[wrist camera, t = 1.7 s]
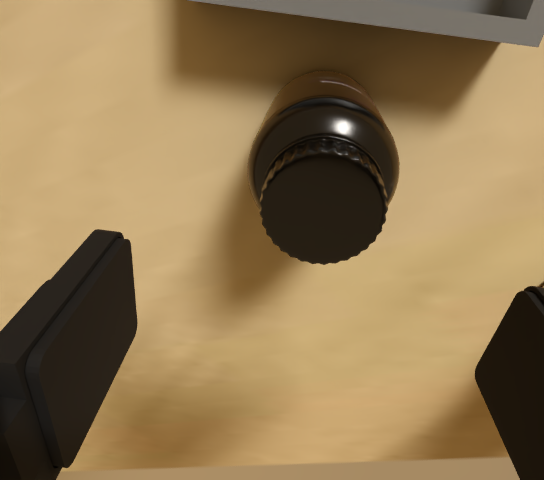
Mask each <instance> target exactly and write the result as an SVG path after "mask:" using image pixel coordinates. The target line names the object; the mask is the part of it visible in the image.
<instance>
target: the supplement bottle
mask: <svg viewBox="0 0 544 480" xmlns="http://www.w3.org/2000/svg"><path fill="white" fill-rule="evenodd" d="M398 178H399V157H398V152H397V148H396V145H395V142H394V139H393V137H392V135H391V133H390V131H389V129H388V127H387V125H386V124H385V122H384V120H383V118H382V116H381V115H380V113H379V111H378V109H377V108H376V106H375V104H374V102H373V100H372V99H371V97H370V96H369V94H368V93H367V92H366V90H365V89H364V88H363V87H362V86H361V85H360V84H359V83H357V82H356V81H355V80H353V79H351V78H350V77H348V76H346V75H343V74H340V73H337V72H332V71H316V72H311V73H307V74H304V75H302V76H299V77H297V78H296V79H294V80H292V81H291V82H290V83H288V84H287V85H286V86H285V87H284V88H283V89H282V90H281V91H280V92H279V93H278V95H277V96H276V97H275V99H274V101H273V102H272V104H271V106H270V108H269V110H268V112H267V114H266V116H265V119H264V121H263V123H262V125H261V127H260V129H259V131H258V133H257V135H256V138H255V140H254V142H253V145H252V148H251V151H250V156H249V161H248V181H249V187H250V190H251V194H252V196H253V199H254V201H255V203H256V205H257V206H258V208H259V210H260V215H261V217H262V225H263V226H264V227H265V229H266V233H267V235H268V236H269V237H271V239H272V241H273V243H274V244H275V245H277V246H279V248H280V250H281V251H283V252H286V253H288V255H289V256H290V257H294V258H297V259H299V260H300V261H307V262H309V263H311V264H316V263H320V264H323V265H325V264H328V263H338V262H339V261H345V260H348V259H349V258H351V257H353V256H357V255H358V254H359V253H360V252H361V251H363V250H366V249H367V248H368V247H369V245H370V244H371V243H373V242H374V241H375V240H376V237H377V235H378V234H379V233H380V232H381V231H382V225H383V224H384V223H385V221H386V216H385V214H386V212H387V210H388V205H389V203H390V202H391V200H392V198H393V195H394V193H395V190H396V187H397V183H398Z"/></svg>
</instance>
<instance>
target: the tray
mask: <svg viewBox="0 0 544 480" xmlns="http://www.w3.org/2000/svg"><path fill="white" fill-rule="evenodd" d="M189 1H196V2H204V3H211V4H219V5H226V6H234V7H241V8H249V9H256V10H264V11H271V12H278V13H286V14H293V15H301V16H308V17H316V18H323V19H331V20H338V21H346V22H353V23H361V24H368V25H375V26H383V27H390V28H398V29H405V30H413V31H420V32H428V33H435V34H443V35H450V36H458V37H465V38H472V39H480V40H487V41H495V42H502V43H510V44H517V45H525V46H532V47H539V44H540V42H541V40H542V37H543V35H544V0H189Z"/></svg>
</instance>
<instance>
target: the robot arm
mask: <svg viewBox="0 0 544 480" xmlns="http://www.w3.org/2000/svg"><path fill="white" fill-rule="evenodd" d="M136 330H137V312H136V300H135V289H134V277H133V265H132V253H131V243H130V241H129V240H128V239H124V237H123V235H122V233H121V232H114V231H107V230H99V229H97V230H94V231H93V232H92V233H91V234H90V236H89V237H88V238H87V239H86V240H85V241H84V242H83V244H82V245H81V246H80V247H79V248H78V249H77V250H76V251H75V253H74V254H73V255H72V256H71V257H70V258H69V259H68V260H67V262H66V263H65V264H64V265H63V266H62V267H61V268H60V270H59V271H58V272H57V273H56V274H55V275H54V276H53V277H52V279H51V280H47V281H46V282H45V283H44V284H43V285H42V286H41V287H40V288H39V289H38V290H37V291H36V292H35V294H34V295H33V296H32V297H31V298H30V299H29V300H28V301H27V302H26V304H25V305H24V306H23V307H22V308H21V309H20V310H19V311H18V313H17V314H16V315H15V316H14V317H13V318H12V319H11V320H10V321H9V323H8V324H7V325H6V326H5V327H4V328H3V329H2V330H1V331H0V480H56V478H57V476H58V474H59V473H60V471H61V469H62V467H64V468H68V467H69V466H70V465H71V464H72V463H73V461H74V459H75V457H76V455H77V453H78V451H79V449H80V447H81V445H82V443H83V441H84V439H85V437H86V435H87V433H88V431H89V429H90V427H91V425H92V423H93V421H94V419H95V416H96V414H97V412H98V410H99V408H100V406H101V404H102V402H103V400H104V398H105V396H106V394H107V392H108V390H109V388H110V386H111V384H112V382H113V380H114V378H115V376H116V374H117V372H118V370H119V368H120V366H121V364H122V361H123V359H124V357H125V355H126V353H127V351H128V349H129V347H130V345H131V343H132V341H133V339H134V337H135V334H136ZM475 379H476V382H477V385H478V387H479V389H480V391H481V394H482V396H483V398H484V400H485V403H486V405H487V407H488V409H489V411H490V414H491V416H492V418H493V420H494V423H495V425H496V427H497V429H498V431H499V434H500V436H501V438H502V440H503V443H504V445H505V447H506V449H507V451H508V454H509V456H510V458H511V460H512V463H513V465H514V467H515V469H516V471H517V474H518V476H519V478H520V480H544V286H543V287H535V286H530V287H527V288H526V289H524V291H520V292H518V293H517V294H516V296H515V298H514V299H513V301H512V303H511V305H510V307H509V308H508V310H507V312H506V314H505V316H504V317H503V319H502V321H501V323H500V325H499V326H498V328H497V330H496V332H495V334H494V335H493V337H492V339H491V341H490V343H489V344H488V346H487V348H486V350H485V352H484V353H483V355H482V357H481V359H480V361H479V362H478V364H477V366H476V369H475Z"/></svg>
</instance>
